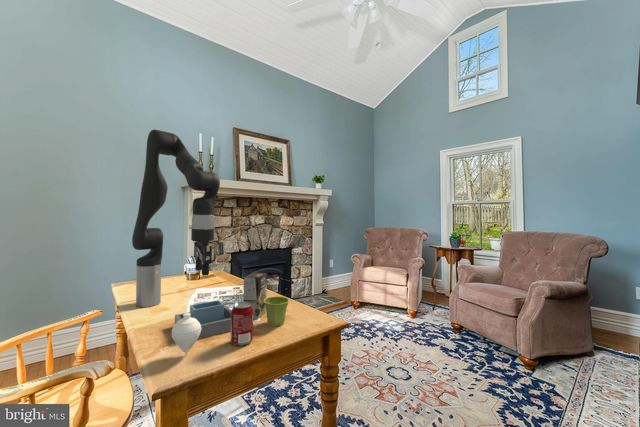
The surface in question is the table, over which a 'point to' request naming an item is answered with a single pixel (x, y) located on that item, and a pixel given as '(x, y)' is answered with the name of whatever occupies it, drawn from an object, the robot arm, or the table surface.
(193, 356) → the table surface
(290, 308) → the table surface
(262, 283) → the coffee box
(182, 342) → the spinning top
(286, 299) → the plant pot
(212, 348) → the table surface
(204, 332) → the grey shallow tray
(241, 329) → the soda can
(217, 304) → the small crate
